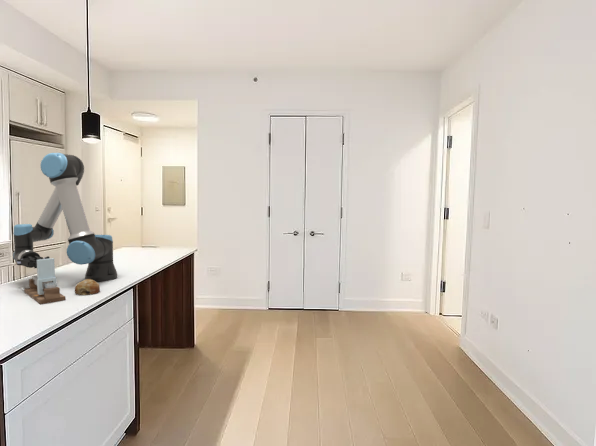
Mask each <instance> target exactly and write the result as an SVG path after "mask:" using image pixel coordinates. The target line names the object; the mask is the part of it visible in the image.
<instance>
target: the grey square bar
mask: <svg viewBox="0 0 596 446" xmlns="http://www.w3.org/2000/svg"><path fill="white" fill-rule="evenodd" d="M31 279H32V280H33V283H34V284H35V285H37V275H32V276H31ZM42 287H43V290H44V289H46V288H47V289H51V288H56V284H54V283H53V282H51V281H48V282H42Z"/></svg>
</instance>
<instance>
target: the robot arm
mask: <svg viewBox="0 0 596 446" xmlns="http://www.w3.org/2000/svg"><path fill="white" fill-rule="evenodd" d="M40 171H41V173H42V174H43V175H44V176H46V177H47V178H48V179H49V182H50V185H52V186H54V187H55V188H54V190H53V191H52V194H51V195H50V197H49V199H48V201H47V203H46V204H45V207H44V208H43V210H42V213H41V214H40V216H39V218H38V220H37V222H36V224H35V226H33V225H32V224H31V223H22V224H19V223H18V224H14V226H13V233H12V234H13V244H14V247H13V249H14V251H13V254H12V258H13V260H14V261H15V262H16V266H22V267H25V268H27V269H31V268H33V269H37V260H40V259H50V256H44V257H42V256H41V255H40V254H39V253H38V252H36V251H34V243H35V242H41V241H47V240H49V239H51V238H53V236H54V234H55V233H54V232H55V231H54V226H55V224H56V222H57V221H58V219H59V217H60V216H61V213H63V215H64V219H65V222H66V225H67V228H68V232H69V236H68V238H67V242H68V246H67V248H66V256H67V258H68V259H69V260H70V261H71V262H72V263H74V264H76V265H81V266H82V265H87V264H88V265H87V268H86V271H85V274H84V280H86V279H91V280H94V281H96V282H105V281H107V282H108V281H111V280H115V279H117V278H118V271H117V269H116V267H115V264H114V250H113V249H114V240H113V236H112V235H110V234H95V232H93V231H91V230H90V226H89V224H88V220H87V216H86V213H85V210H84V207H83V203H82V200H81V196H80V193H79V190H78V187H77V186H79V185H80V183H81V181H82V179H83V177H84V174H85V166H84V163H83V161H82V160H81V158H80V157H78V156H76V155H74V154H66V153H61V152H50V153H47V154H46V155H44V157H43V158H42V160H41V161H40Z"/></svg>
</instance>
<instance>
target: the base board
mask: <svg viewBox="0 0 596 446" xmlns="http://www.w3.org/2000/svg"><path fill="white" fill-rule="evenodd" d="M60 291H61V289H60V287H59V286H57V287H56V288H51V289H47V288H46V289H44V294H43V295H39V294H38V291H37V285H35V284H34V283H33V280H32V278H28V288H24V289H23V292H24V293H25V294H26V295H28V296H29V297H30V298H31V299H33V300H34V301H35V302H37V304H39V305H45V304H51V303H52V304H53V303H56V302H63V301H66V296H65V295H64V294H62V293H61V292H60Z"/></svg>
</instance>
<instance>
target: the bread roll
mask: <svg viewBox="0 0 596 446" xmlns="http://www.w3.org/2000/svg"><path fill="white" fill-rule="evenodd" d="M100 287H101V285H100V283H99V282H98V281H94V280H91V279H86V280H85V279H84V280H82V281H80V282H78V283H76V285H75V287H74V294H76V295H77V294H78V296H90V294H91V295H95V294H99V293H100V290H101V289H100ZM98 292H99V293H98Z"/></svg>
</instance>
